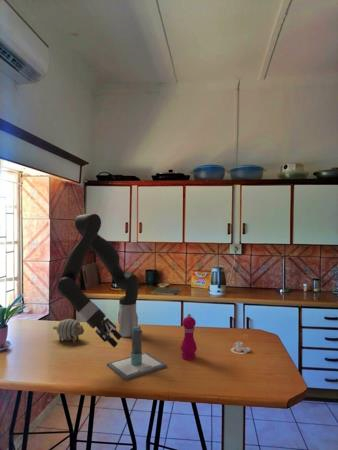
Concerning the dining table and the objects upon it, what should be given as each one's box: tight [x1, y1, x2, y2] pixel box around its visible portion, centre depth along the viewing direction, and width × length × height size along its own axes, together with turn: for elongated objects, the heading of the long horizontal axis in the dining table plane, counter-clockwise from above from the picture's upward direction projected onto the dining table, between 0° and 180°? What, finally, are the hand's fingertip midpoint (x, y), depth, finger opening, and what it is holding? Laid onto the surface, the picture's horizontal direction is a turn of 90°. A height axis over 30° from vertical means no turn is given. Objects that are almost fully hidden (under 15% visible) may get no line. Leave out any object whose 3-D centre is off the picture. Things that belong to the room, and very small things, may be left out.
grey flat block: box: [106, 351, 168, 382], centre depth 136 cm, size 20×16×2 cm
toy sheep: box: [52, 318, 85, 344], centre depth 165 cm, size 11×17×11 cm, turn 84°
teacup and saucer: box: [230, 341, 251, 355], centre depth 154 cm, size 9×8×4 cm
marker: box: [130, 325, 143, 366], centre depth 136 cm, size 5×5×16 cm
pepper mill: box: [180, 313, 198, 361], centre depth 146 cm, size 7×7×20 cm
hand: (118, 341), depth 136 cm, fingers open, 8 cm apart
